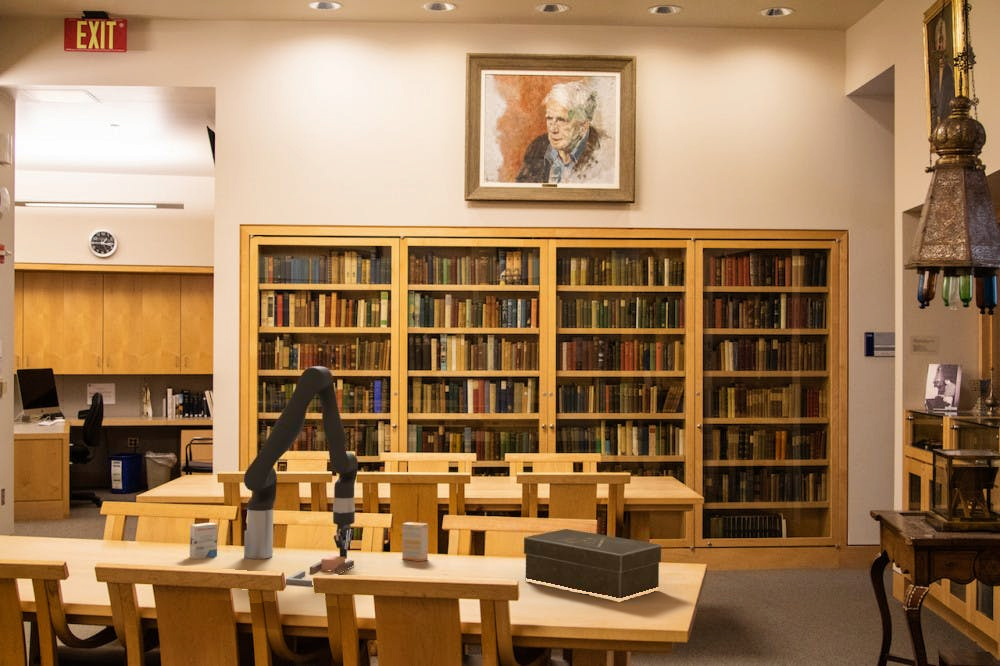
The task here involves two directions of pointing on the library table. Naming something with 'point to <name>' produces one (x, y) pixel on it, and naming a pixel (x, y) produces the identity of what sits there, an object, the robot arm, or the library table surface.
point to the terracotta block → (332, 562)
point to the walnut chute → (336, 570)
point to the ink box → (203, 540)
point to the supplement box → (415, 541)
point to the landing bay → (296, 579)
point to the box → (592, 562)
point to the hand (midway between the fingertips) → (343, 559)
